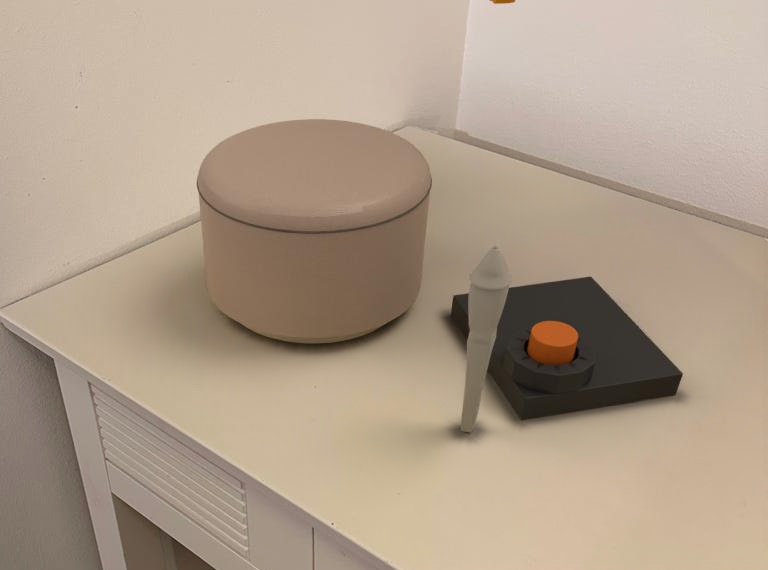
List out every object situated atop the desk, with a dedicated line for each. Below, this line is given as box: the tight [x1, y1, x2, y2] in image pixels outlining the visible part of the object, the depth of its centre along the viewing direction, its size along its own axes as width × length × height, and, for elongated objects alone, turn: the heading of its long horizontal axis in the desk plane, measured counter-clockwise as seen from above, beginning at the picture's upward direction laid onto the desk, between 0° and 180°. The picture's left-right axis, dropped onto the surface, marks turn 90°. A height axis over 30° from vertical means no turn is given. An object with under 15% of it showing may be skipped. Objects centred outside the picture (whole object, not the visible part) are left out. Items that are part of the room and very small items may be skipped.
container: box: [196, 118, 433, 344], centre depth 71 cm, size 18×18×12 cm
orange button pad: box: [450, 276, 684, 420], centre depth 67 cm, size 12×14×4 cm
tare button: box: [527, 321, 578, 365], centre depth 62 cm, size 3×3×2 cm
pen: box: [460, 244, 513, 433], centre depth 57 cm, size 2×3×14 cm
